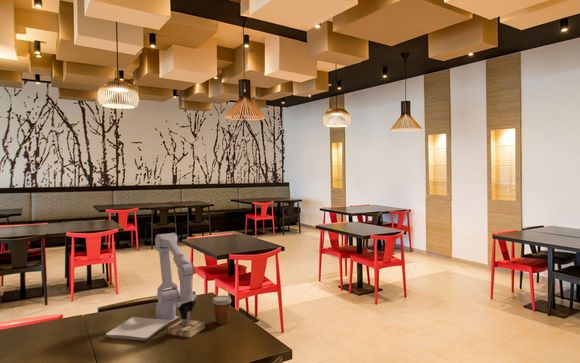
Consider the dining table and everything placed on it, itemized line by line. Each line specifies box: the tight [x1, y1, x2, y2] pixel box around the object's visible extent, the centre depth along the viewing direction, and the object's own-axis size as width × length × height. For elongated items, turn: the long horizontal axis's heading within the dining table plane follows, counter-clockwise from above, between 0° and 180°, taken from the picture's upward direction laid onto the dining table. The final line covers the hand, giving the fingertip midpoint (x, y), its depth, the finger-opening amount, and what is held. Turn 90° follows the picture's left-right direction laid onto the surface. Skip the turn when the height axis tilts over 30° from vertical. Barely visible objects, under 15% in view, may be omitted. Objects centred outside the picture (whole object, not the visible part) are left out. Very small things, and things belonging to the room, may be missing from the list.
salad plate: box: [105, 316, 171, 342], centre depth 184 cm, size 21×21×3 cm
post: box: [181, 310, 192, 327], centre depth 186 cm, size 3×3×7 cm
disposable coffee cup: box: [212, 295, 232, 325], centre depth 197 cm, size 10×10×12 cm
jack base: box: [167, 319, 205, 339], centre depth 186 cm, size 12×12×4 cm
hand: (186, 317), depth 186 cm, fingers closed on post, 3 cm apart
